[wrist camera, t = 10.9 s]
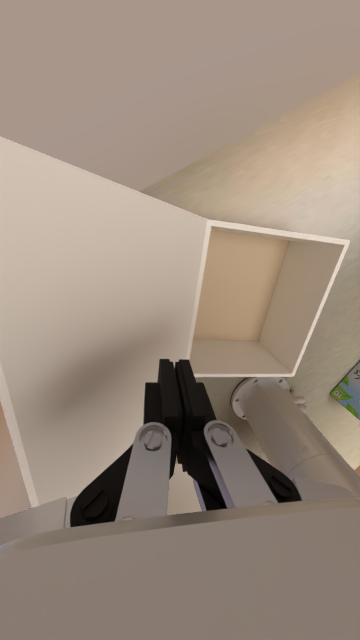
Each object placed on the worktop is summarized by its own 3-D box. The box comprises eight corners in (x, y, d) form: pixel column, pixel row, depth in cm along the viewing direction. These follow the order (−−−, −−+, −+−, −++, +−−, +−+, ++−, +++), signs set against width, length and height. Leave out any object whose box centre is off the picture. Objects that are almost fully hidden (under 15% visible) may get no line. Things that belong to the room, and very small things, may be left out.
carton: (290, 237, 31) (350, 240, 21) (258, 341, 37) (293, 376, 28) (187, 222, 28) (207, 219, 18) (173, 338, 34) (182, 377, 25)
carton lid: (-67, 110, 4) (-85, 113, 4) (50, 548, 11) (40, 539, 11) (207, 219, 18) (199, 218, 19) (182, 377, 25) (177, 375, 26)
